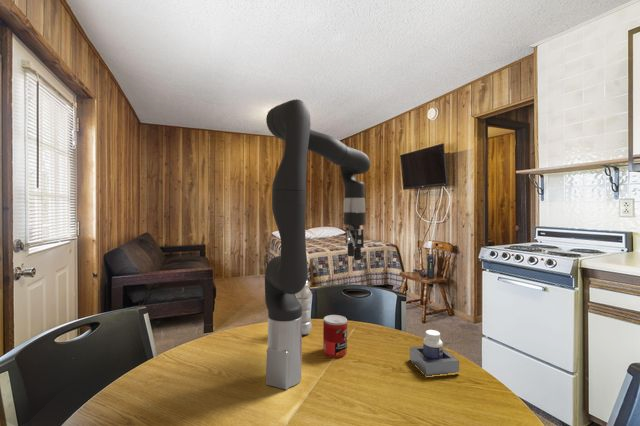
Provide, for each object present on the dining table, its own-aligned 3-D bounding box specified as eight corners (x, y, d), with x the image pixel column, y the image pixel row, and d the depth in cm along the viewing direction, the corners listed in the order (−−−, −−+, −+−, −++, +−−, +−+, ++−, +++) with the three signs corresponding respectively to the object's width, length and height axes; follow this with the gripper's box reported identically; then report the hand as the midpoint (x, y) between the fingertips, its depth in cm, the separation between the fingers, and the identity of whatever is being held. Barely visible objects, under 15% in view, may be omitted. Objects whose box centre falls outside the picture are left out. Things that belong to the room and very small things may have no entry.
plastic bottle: (290, 334, 110) (291, 281, 111) (300, 328, 116) (300, 277, 117) (305, 338, 107) (306, 283, 108) (314, 332, 113) (315, 279, 114)
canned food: (338, 360, 91) (339, 325, 91) (318, 353, 96) (318, 319, 96) (351, 351, 98) (351, 318, 98) (331, 345, 102) (332, 313, 102)
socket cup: (459, 376, 84) (459, 360, 84) (426, 379, 82) (426, 362, 82) (439, 359, 94) (439, 345, 94) (409, 361, 92) (409, 347, 92)
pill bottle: (443, 371, 85) (443, 337, 84) (423, 368, 86) (423, 334, 86) (442, 361, 90) (442, 330, 89) (423, 359, 91) (423, 327, 91)
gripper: (339, 211, 110) (338, 255, 109) (349, 211, 96) (348, 261, 95) (358, 211, 111) (358, 255, 111) (371, 211, 97) (370, 261, 97)
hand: (353, 258), depth 103 cm, fingers open, 8 cm apart
